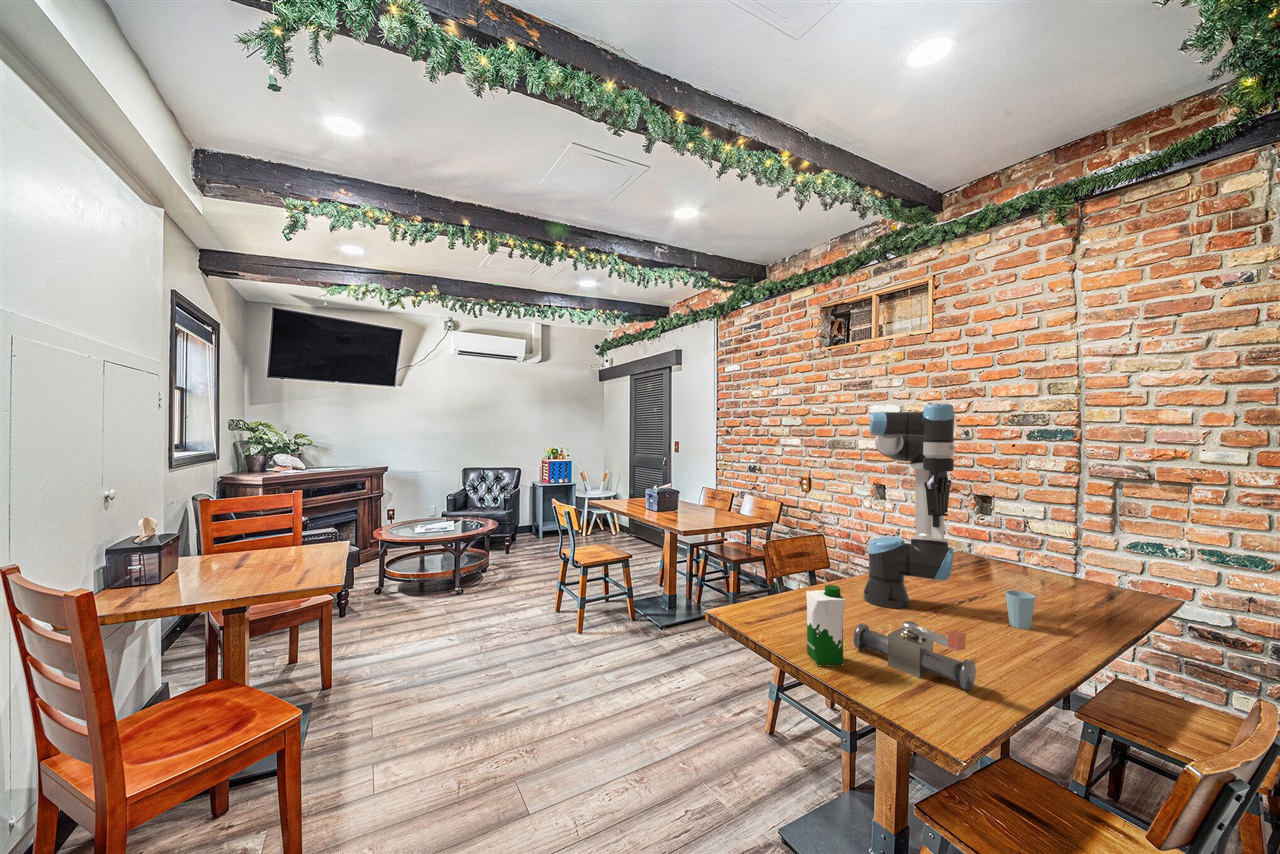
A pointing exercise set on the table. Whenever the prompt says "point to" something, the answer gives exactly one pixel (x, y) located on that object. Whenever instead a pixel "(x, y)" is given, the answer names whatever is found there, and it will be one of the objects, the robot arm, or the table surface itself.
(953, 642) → the lever
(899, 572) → the robot arm
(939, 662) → the valve body
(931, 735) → the table surface
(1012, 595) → the cup
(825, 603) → the milk carton
